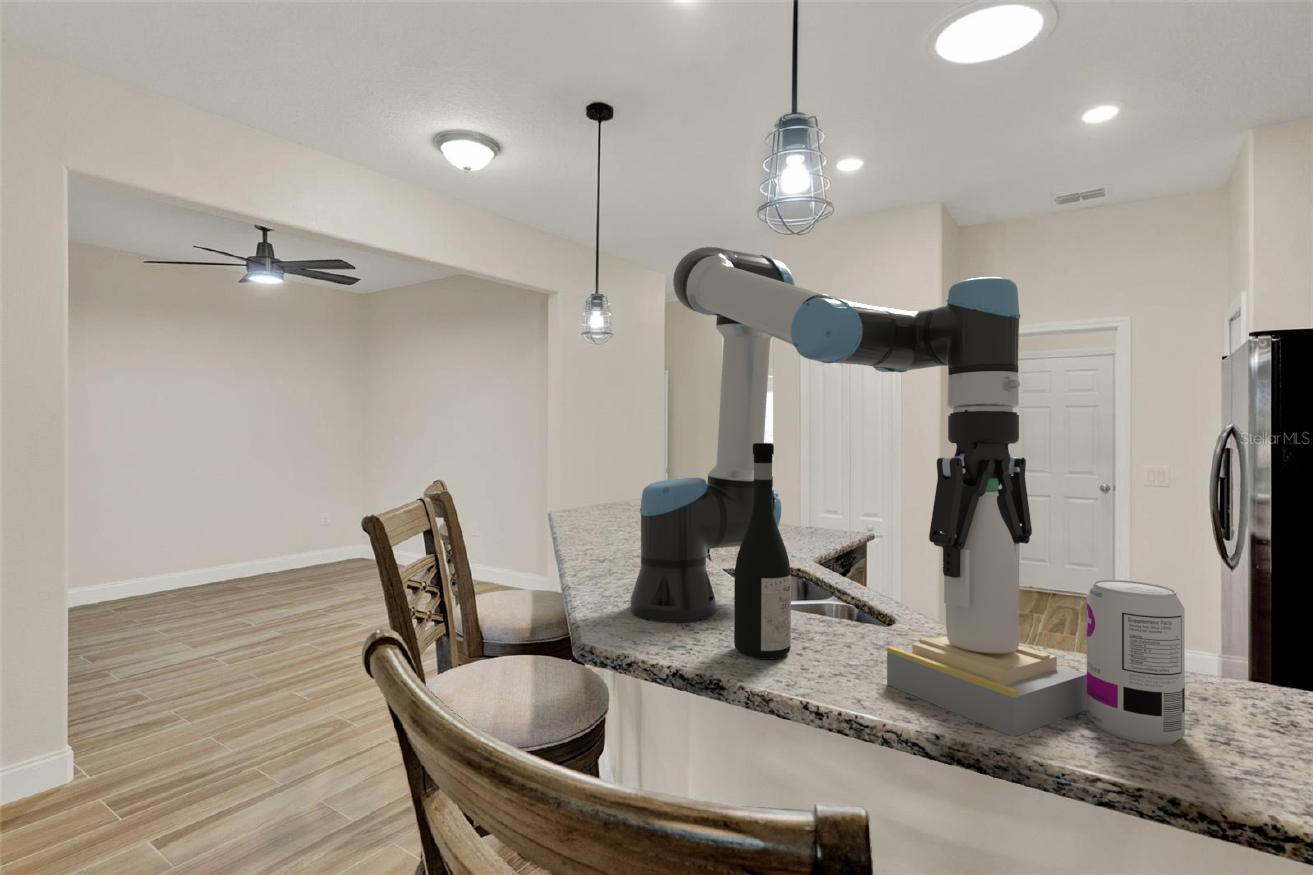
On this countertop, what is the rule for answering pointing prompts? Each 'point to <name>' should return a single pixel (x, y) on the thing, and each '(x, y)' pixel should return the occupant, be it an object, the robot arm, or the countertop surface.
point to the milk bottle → (988, 584)
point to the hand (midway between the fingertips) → (982, 600)
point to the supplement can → (1136, 661)
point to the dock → (989, 684)
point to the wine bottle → (762, 574)
